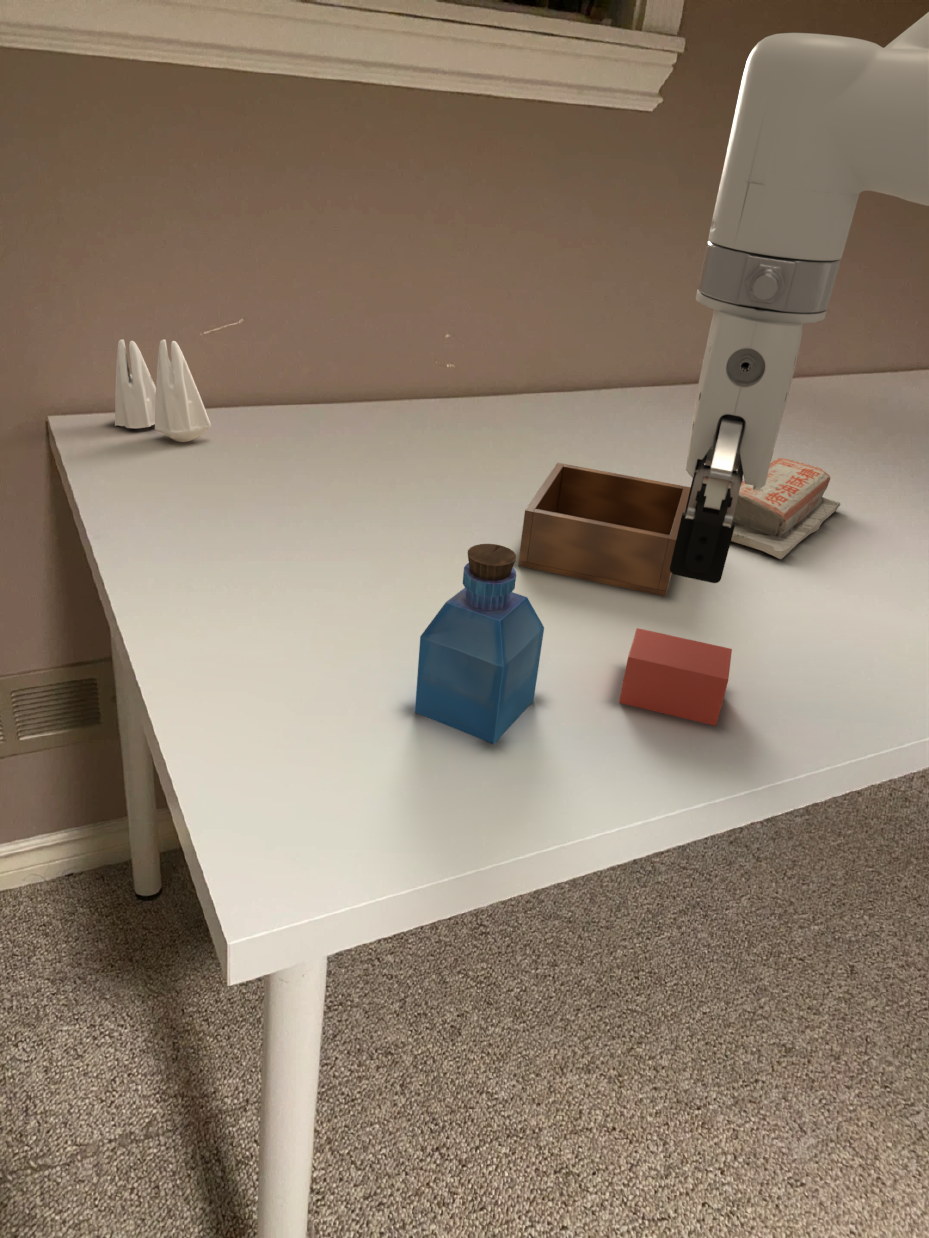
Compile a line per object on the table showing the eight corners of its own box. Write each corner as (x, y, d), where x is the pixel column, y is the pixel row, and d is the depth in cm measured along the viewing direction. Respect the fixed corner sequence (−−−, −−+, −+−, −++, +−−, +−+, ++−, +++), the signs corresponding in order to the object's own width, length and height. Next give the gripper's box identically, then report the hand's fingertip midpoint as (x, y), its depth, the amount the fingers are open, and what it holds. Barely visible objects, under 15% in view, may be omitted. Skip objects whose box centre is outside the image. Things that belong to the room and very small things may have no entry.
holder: (680, 539, 95) (692, 487, 93) (665, 597, 84) (677, 540, 81) (549, 513, 98) (557, 462, 96) (517, 566, 87) (524, 510, 84)
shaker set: (214, 441, 108) (209, 344, 103) (187, 451, 105) (181, 350, 100) (139, 417, 113) (131, 323, 108) (112, 425, 110) (102, 329, 105)
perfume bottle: (493, 744, 63) (513, 586, 57) (414, 713, 65) (425, 557, 60) (533, 701, 68) (555, 551, 62) (458, 673, 70) (472, 526, 64)
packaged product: (763, 447, 108) (850, 472, 103) (753, 487, 110) (838, 512, 105) (698, 487, 95) (794, 517, 90) (688, 531, 97) (781, 562, 92)
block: (720, 693, 71) (732, 648, 69) (716, 726, 67) (728, 679, 65) (627, 672, 72) (636, 627, 70) (618, 703, 69) (627, 656, 67)
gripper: (837, 320, 47) (752, 617, 56) (826, 272, 62) (760, 513, 70) (687, 297, 49) (626, 589, 57) (711, 255, 63) (660, 493, 72)
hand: (700, 547), depth 64 cm, fingers open, 9 cm apart
